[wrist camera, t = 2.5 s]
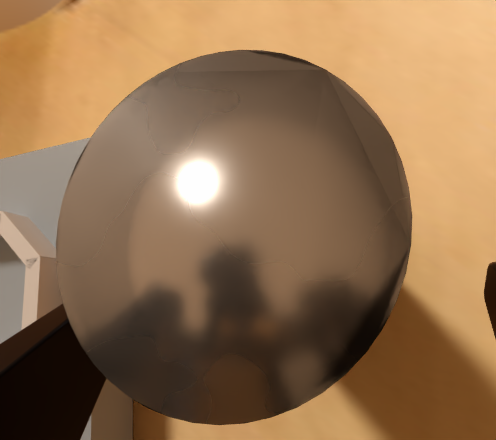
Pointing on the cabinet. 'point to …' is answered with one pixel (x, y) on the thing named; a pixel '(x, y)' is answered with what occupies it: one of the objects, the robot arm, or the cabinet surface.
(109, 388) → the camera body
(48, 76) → the cabinet surface
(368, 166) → the lens
